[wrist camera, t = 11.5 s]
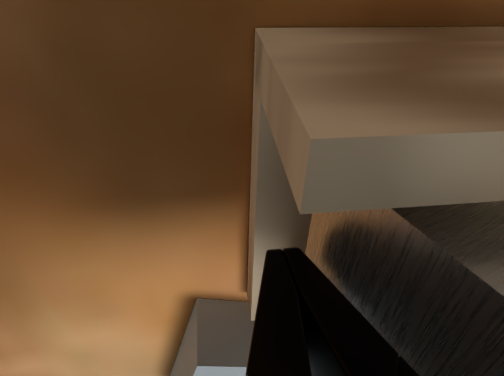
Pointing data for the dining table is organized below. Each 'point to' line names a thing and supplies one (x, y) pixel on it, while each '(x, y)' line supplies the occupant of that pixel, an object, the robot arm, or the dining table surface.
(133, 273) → the dining table surface
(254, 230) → the shelf tray
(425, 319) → the bookend
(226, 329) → the blue book lying
